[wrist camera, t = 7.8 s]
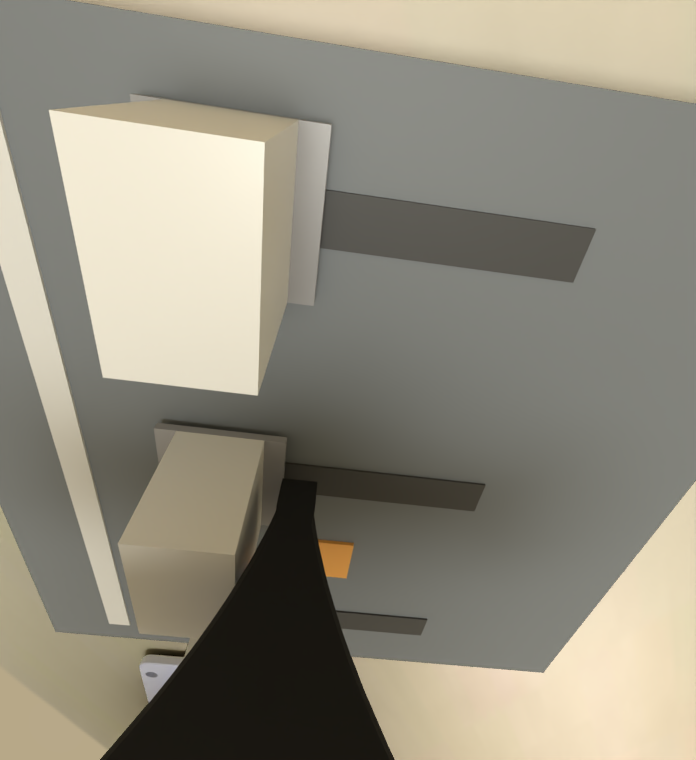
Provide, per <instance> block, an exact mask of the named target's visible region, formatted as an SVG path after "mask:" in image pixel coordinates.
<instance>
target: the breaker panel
mask: <svg viewBox="0 0 696 760" xmlns="http://www.w3.org/2000/svg"><path fill="white" fill-rule="evenodd" d="M130 94H142V95H148V96H155V97H161V98H168V99H174V100H181V101H187V102H194V103H200V104H206V105H213V106H219V107H226V108H232V109H239V110H245V111H252V112H258V113H265V114H271V115H278V116H284V117H291V118H297V119H304V120H310V121H317V122H323V123H330V124H332V131H331V141H330V151H329V161H328V171H327V181H326V191H325V202H324V212H323V222H322V232H321V242H320V252H319V262H318V272H317V282H316V292H315V302H314V306H310V305H302V304H294V303H287V305H286V308H285V311H284V314H283V317H282V321H281V324H280V327H279V330H278V333H277V336H276V340H275V343H274V346H273V349H272V352H271V355H270V359H269V362H268V365H267V368H266V371H265V374H264V378H263V381H262V384H261V387H260V390H259V393H258V396H256V395H248V394H239V393H231V392H222V391H214V390H205V389H197V388H188V387H180V386H171V385H162V384H154V383H145V382H137V381H128V380H120V379H111V378H103V376H102V371H101V366H100V361H99V356H98V351H97V346H96V341H95V336H94V331H93V326H92V322H91V317H90V312H89V307H88V302H87V297H86V292H85V287H84V282H83V277H82V272H81V267H80V262H79V257H78V252H77V247H76V243H75V238H74V233H73V228H72V223H71V218H70V213H69V208H68V203H67V198H66V193H65V188H64V183H63V178H62V173H61V168H60V163H59V159H58V154H57V149H56V144H55V139H54V134H53V129H52V124H51V119H50V114H49V110H52V109H63V108H74V107H85V106H95V105H106V104H117V103H128V102H131V100H130ZM157 423H164V424H173V425H182V426H190V427H199V428H208V429H217V430H226V431H235V432H244V433H253V434H262V435H271V436H280V437H287V446H286V459H285V472H284V478H286V479H295V480H304V481H314V482H317V492H316V503H315V512H314V518H315V525H316V532H317V537H318V543H319V548H320V552H321V556H322V561H323V565H324V570H325V574H326V578H327V582H328V585H329V589H330V593H331V596H332V599H333V603H334V606H335V610H336V613H337V616H338V619H339V623H340V626H341V629H342V632H343V635H344V638H345V640H346V643H347V646H348V649H349V652H350V654H351V657H363V658H375V659H387V660H399V661H411V662H422V663H434V664H446V665H458V666H470V667H482V668H494V669H506V670H518V671H530V672H542V673H543V672H544V671H545V670H546V668H547V667H548V666H549V665H550V663H551V662H552V661H553V660H554V658H555V657H556V656H557V655H558V653H559V652H560V651H561V650H562V648H563V647H564V646H565V645H566V643H567V642H568V641H569V639H570V638H571V637H572V636H573V634H574V633H575V632H576V631H577V629H578V628H579V627H580V626H581V624H582V623H583V622H584V621H585V619H586V618H587V617H588V616H589V614H590V613H591V612H592V611H593V609H594V608H595V607H596V606H597V604H598V603H599V602H600V601H601V599H602V598H603V597H604V595H605V594H606V593H607V592H608V590H609V589H610V588H611V587H612V585H613V584H614V583H615V582H616V580H617V579H618V578H619V577H620V575H621V574H622V573H623V572H624V570H625V569H626V568H627V567H628V565H629V564H630V563H631V562H632V560H633V559H634V558H635V556H636V555H637V554H638V553H639V551H640V550H641V549H642V548H643V546H644V545H645V544H646V543H647V541H648V540H649V539H650V538H651V536H652V535H653V534H654V533H655V531H656V530H657V529H658V528H659V526H660V525H661V524H662V523H663V521H664V520H665V519H666V518H667V516H668V515H669V514H670V512H671V511H672V510H673V509H674V507H675V506H676V505H677V504H678V502H679V501H680V500H681V499H682V497H683V496H684V495H685V494H686V492H687V491H688V490H689V489H690V487H691V486H692V485H693V484H694V482H695V481H696V104H693V103H687V102H681V101H675V100H669V99H663V98H657V97H651V96H645V95H639V94H633V93H627V92H621V91H615V90H609V89H602V88H596V87H590V86H584V85H578V84H572V83H566V82H560V81H554V80H548V79H542V78H536V77H530V76H524V75H518V74H512V73H505V72H499V71H493V70H487V69H481V68H475V67H469V66H463V65H457V64H451V63H445V62H439V61H433V60H427V59H421V58H414V57H408V56H402V55H396V54H390V53H384V52H378V51H372V50H366V49H360V48H354V47H348V46H342V45H336V44H330V43H324V42H317V41H311V40H305V39H299V38H293V37H287V36H281V35H275V34H269V33H263V32H257V31H251V30H245V29H239V28H233V27H227V26H220V25H214V24H208V23H202V22H196V21H190V20H184V19H178V18H172V17H166V16H160V15H154V14H148V13H142V12H136V11H130V10H123V9H117V8H111V7H105V6H99V5H93V4H87V3H81V2H75V1H69V0H0V506H1V508H2V510H3V512H4V515H5V517H6V519H7V522H8V524H9V526H10V528H11V531H12V533H13V535H14V538H15V540H16V542H17V544H18V547H19V549H20V551H21V554H22V556H23V558H24V561H25V563H26V565H27V567H28V570H29V572H30V574H31V577H32V579H33V581H34V583H35V586H36V588H37V590H38V593H39V595H40V597H41V600H42V602H43V604H44V606H45V609H46V611H47V613H48V616H49V618H50V620H51V622H52V625H53V627H54V629H55V632H64V633H76V634H88V635H100V636H112V637H124V638H136V639H147V640H159V641H171V642H183V643H189V639H190V638H185V637H173V636H161V635H149V634H139V631H138V627H137V622H136V618H135V614H134V610H133V606H132V602H131V597H130V593H129V589H128V585H127V581H126V577H125V572H124V568H123V564H122V560H121V556H120V551H119V547H118V542H119V540H120V538H121V536H122V535H123V533H124V531H125V529H126V527H127V525H128V523H129V521H130V519H131V517H132V515H133V513H134V511H135V509H136V507H137V506H138V504H139V502H140V500H141V498H142V496H143V494H144V492H145V490H146V488H147V486H148V484H149V482H150V480H151V478H152V477H153V475H154V473H155V471H156V469H157V467H158V465H159V463H158V455H157V448H156V441H155V434H154V427H155V425H156V424H157ZM268 527H269V526H266V525H261V527H260V532H259V536H258V541H257V546H256V549H257V547H258V545H259V544H260V542H261V540H262V538H263V536H264V534H265V532H266V531H267V529H268ZM255 551H256V550H255Z"/></svg>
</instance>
